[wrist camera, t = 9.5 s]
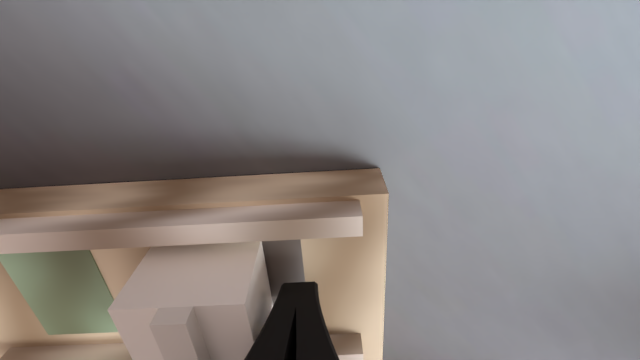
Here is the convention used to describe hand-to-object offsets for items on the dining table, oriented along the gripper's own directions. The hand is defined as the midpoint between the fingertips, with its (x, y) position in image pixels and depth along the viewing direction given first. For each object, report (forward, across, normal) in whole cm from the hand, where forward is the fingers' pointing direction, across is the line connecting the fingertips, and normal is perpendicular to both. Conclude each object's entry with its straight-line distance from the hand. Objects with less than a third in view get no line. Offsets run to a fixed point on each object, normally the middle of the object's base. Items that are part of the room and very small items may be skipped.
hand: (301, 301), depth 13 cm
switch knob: (+1, +3, 0) cm, 3 cm away
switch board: (+3, +6, +7) cm, 9 cm away
